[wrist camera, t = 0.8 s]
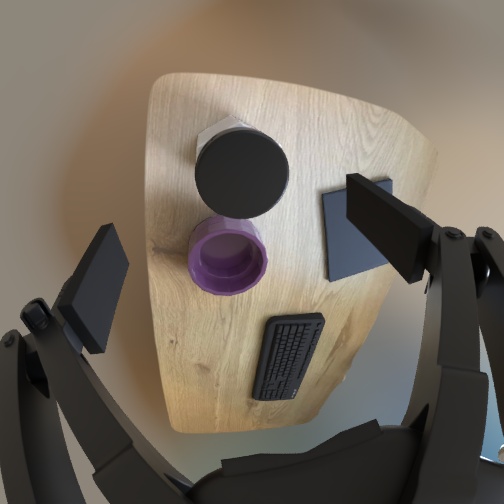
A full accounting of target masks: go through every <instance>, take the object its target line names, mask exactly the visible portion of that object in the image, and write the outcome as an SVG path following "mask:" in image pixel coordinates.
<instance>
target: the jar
mask: <svg viewBox="0 0 504 504" xmlns="http://www.w3.org/2000/svg"><path fill="white" fill-rule="evenodd" d="M195 172H196V173H195V181H196V186H197V189H198V192H199V194H200V196H201V198H202V200H203V201H204V202H205V204H206V205H207V206H208V207H209V208H210V209H212V210H213V211H214V212H216V213H218V214H220V215H222V216H224V217H228V218H232V219H249V218H253V217H257V216H259V215H262V214H264V213H265V212H267V211H269V210H270V209H271V208H273V207H274V206H275V205H276V204H277V203H278V202H279V200H280V199H281V198H282V196H283V194H284V192H285V190H286V188H287V185H288V181H289V165H288V161H287V158H286V155H285V153H284V152H283V150H282V148H281V145H280V144H279V143H277V142H276V141H274V140H273V139H272V138H270V137H269V136H267V135H266V134H264V133H262V132H261V131H259V130H257V129H256V128H254V127H252V126H250V125H248V124H247V123H245V122H243V121H241V120H239V119H237V118H236V117H234V116H232V115H229V116H228V117H226V118H224V119H222V120H221V121H219V122H217V123H215V124H214V125H212V126H210V127H209V128H207V129H205V130H204V131H202V132H201V133H199V134H198V139H197V148H196V166H195Z"/></svg>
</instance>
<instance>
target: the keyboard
mask: <svg viewBox="0 0 504 504" xmlns="http://www.w3.org/2000/svg"><path fill="white" fill-rule="evenodd" d="M324 324H325V319H324V317H323V315H322V313H310V314H298V315H284V316H274V317H271V318H270V319H269V320H268V321H267V323H266V325H265V331H264V336H263V341H262V347H261V352H260V357H259V362H258V367H257V372H256V377H255V382H254V387H253V392H252V397H253V399H255V400H259V401H274V400H288V399H294V398H295V396H296V394H297V391H298V389H299V387H300V385H301V382H302V380H303V377H304V375H305V373H306V370H307V368H308V365H309V363H310V361H311V358H312V356H313V353H314V351H315V348H316V345H317V343H318V340H319V338H320V335H321V332H322V330H323V327H324Z"/></svg>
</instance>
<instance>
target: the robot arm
mask: <svg viewBox="0 0 504 504" xmlns="http://www.w3.org/2000/svg"><path fill="white" fill-rule="evenodd" d="M346 218H347V219H348V220H349V221H350V222H351V223H352V224H353V225H354V226H355V227H356V228H357V229H358V230H359V231H360V232H361V233H362V234H363V235H364V236H365V237H366V238H367V239H368V240H369V241H370V242H371V243H372V244H373V245H374V247H375V248H376V249H377V250H378V251H379V252H380V253H381V254H382V255H383V256H384V257H385V258H386V259H387V260H388V261H389V263H390V264H391V265H392V266H393V267H394V268H395V269H396V270H397V271H398V272H399V274H400V275H401V276H402V277H403V278H404V279H405V280H406V281H407V283H409V284H412V283H415V282H418V281H420V280H422V278H423V274H424V270H425V269H426V270H427V271H428V272H429V273H430V275H429V278H428V282H427V285H426V289H425V294H426V293H427V301H426V311H425V321H424V329H423V336H422V343H421V349H420V355H419V361H418V366H417V372H416V376H415V381H414V385H413V390H412V394H411V398H410V402H409V406H408V409H407V412H406V414H405V416H404V419H403V421H402V423H401V425H400V426H397V425H385V426H379V424H378V422H377V420H376V419H374V420H372V421H369V422H367V423H364V424H361V425H359V426H356V427H353V428H351V429H348V430H345V431H342V432H340V433H338V434H337V435H335V436H334V437H332V438H330V439H329V440H327V441H325V442H324V443H322V444H320V445H318V446H317V447H315V448H313V449H311V450H309V451H307V452H305V453H298V454H255V455H249V456H243V457H237V458H231V459H223V460H221V462H222V468H219V469H217V470H215V471H213V472H211V473H209V474H207V475H206V476H204V477H203V478H201V479H200V480H199V481H198V482H196V483H195V484H193V483H192V482H191V481H190V480H189V479H187V478H186V477H185V476H184V475H182V474H181V473H179V472H178V471H177V470H176V469H175V468H174V467H173V466H172V465H171V464H170V463H169V462H168V461H167V460H166V459H165V458H164V457H163V456H162V455H161V454H160V453H159V452H158V451H157V450H156V449H155V448H154V447H153V446H152V445H151V444H150V442H149V441H148V440H147V439H146V438H145V437H144V436H143V435H142V434H141V432H140V431H139V430H138V429H137V428H136V427H135V425H134V424H133V423H132V422H131V421H130V419H129V418H128V417H127V416H126V414H125V413H124V412H123V411H122V409H121V408H120V407H119V405H118V404H117V403H116V402H115V400H114V399H113V397H112V396H111V395H110V393H109V392H108V391H107V389H106V388H105V386H104V385H103V384H102V382H101V381H100V379H99V378H98V376H97V375H96V373H95V372H94V370H93V369H92V367H91V366H90V364H89V363H88V361H87V359H86V358H85V357H84V355H83V354H82V353H81V352H82V348H83V346H84V347H85V348H86V349H87V351H88V352H89V353H90V354H99V353H104V352H105V349H106V345H107V341H108V336H109V333H110V329H111V325H112V321H113V317H114V314H115V310H116V306H117V303H118V299H119V296H120V292H121V289H122V286H123V282H124V279H125V276H126V273H127V270H128V267H129V262H128V260H127V257H126V255H125V252H124V250H123V247H122V245H121V243H120V240H119V238H118V235H117V232H116V230H115V227H114V225H113V223H110V224H107V225H103V226H101V227H100V229H99V230H98V232H97V233H96V235H95V237H94V238H93V240H92V242H91V243H90V245H89V247H88V248H87V250H86V252H85V253H84V255H83V257H82V259H81V261H80V262H79V264H78V266H77V268H76V270H75V271H74V273H73V275H72V276H71V277H70V278H69V279H68V280H67V281H66V282H65V283H64V285H63V287H62V289H61V292H60V293H59V295H58V298H57V299H56V301H55V303H54V305H53V307H52V309H51V310H50V308H49V307H48V305H47V304H46V302H45V301H44V299H42V298H36V299H34V300H32V301H30V302H29V303H28V304H27V305H26V306H25V307H24V308H23V309H22V311H21V314H20V318H21V320H22V321H23V322H24V324H25V325H26V327H27V328H28V329H29V330H30V332H31V333H30V334H28V335H26V336H23V337H22V336H21V334H20V333H19V332H18V331H17V330H11V331H9V332H8V333H6V334H5V335H4V336H3V337H2V339H1V341H0V468H1V474H2V479H3V484H4V489H5V494H6V498H7V502H8V504H86V502H85V499H84V497H83V494H82V492H81V489H80V486H79V484H78V481H77V478H76V475H75V472H74V469H73V467H72V463H71V460H70V457H69V453H68V450H67V446H66V442H65V439H64V435H63V431H62V426H61V422H60V417H59V413H58V408H57V402H58V404H59V406H60V408H61V410H62V412H63V414H64V416H65V418H66V420H67V422H68V424H69V426H70V428H71V430H72V432H73V433H74V435H75V437H76V439H77V441H78V442H79V444H80V446H81V447H82V449H83V451H84V452H85V454H86V456H87V457H88V459H89V460H90V462H91V463H92V465H93V467H94V469H95V473H94V474H92V476H93V480H94V481H95V483H96V485H97V486H98V488H99V489H100V490H101V492H102V494H103V495H104V496H105V497H106V499H107V500H108V502H109V503H110V504H504V465H503V464H500V463H497V462H495V461H492V460H489V459H486V458H483V457H481V456H480V455H481V451H482V445H483V438H484V432H485V424H486V415H487V404H488V388H489V380H488V375H487V374H486V373H483V372H480V338H479V326H480V329H481V332H482V336H483V339H484V343H485V347H486V351H487V354H488V358H489V362H490V367H491V372H492V377H493V382H494V387H495V393H496V398H497V406H498V412H499V418H500V424H501V428H502V432H503V436H504V241H503V240H502V238H501V237H500V235H499V234H498V233H497V232H496V231H494V230H493V229H491V228H489V227H479V228H477V231H476V235H475V237H466V235H465V234H464V233H463V232H462V231H461V230H459V229H457V228H454V227H443V228H442V227H440V226H439V225H437V224H436V223H435V222H434V221H432V220H431V219H430V218H428V217H426V215H424V214H423V213H421V212H420V211H419V210H417V209H416V208H414V207H412V206H409V205H407V204H405V203H403V202H402V201H400V200H399V199H397V198H396V197H394V196H393V195H391V194H390V193H388V192H387V191H385V190H384V189H382V188H381V187H379V186H378V185H376V184H375V183H373V182H372V181H370V180H368V179H367V178H365V177H364V176H362V175H360V174H359V173H353V174H346ZM488 274H489V276H488ZM56 400H57V402H56ZM498 453H499V454H498V457H499V460H500V461H501V462H504V445H503V446H502V447H501V448H500V450H499V452H498Z"/></svg>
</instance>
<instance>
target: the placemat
mask: <svg viewBox="0 0 504 504" xmlns="http://www.w3.org/2000/svg"><path fill="white" fill-rule="evenodd" d="M374 183H375V184H376V185H378V186H379V187H381V188H382V189H384V190H385V191H387V192H388V193H390V194H391V195H392V180H391V179H388V180H383V181H378V182H374ZM322 201H323V211H324V221H325V233H326V246H327V260H328V278H329V282H333V281H336V280H339V279H342V278H345V277H348V276H351V275H354V274H357V273H361V272H364V271H367V270H370V269H373V268H375V267H378V266H381V265H384V264H387V263H389V261H388V260H387V259H386V258H385V257H384V256H383V255H382V254H381V253H380V252H379V251H378V250H377V249H376V248H375V247H374V245H373V244H372V243H371V242H370V241H369V240H368V239H367V238H366V237H365V236H364V235H363V234H362V233H361V232H360V231H359V230H358V229H357V228H356V227H355V226H354V225H353V224H352V223H351V222H350V221H349V220H348V219H347V218H346V189H342V190H338V191H334V192H329V193H325V194H322Z"/></svg>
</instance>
